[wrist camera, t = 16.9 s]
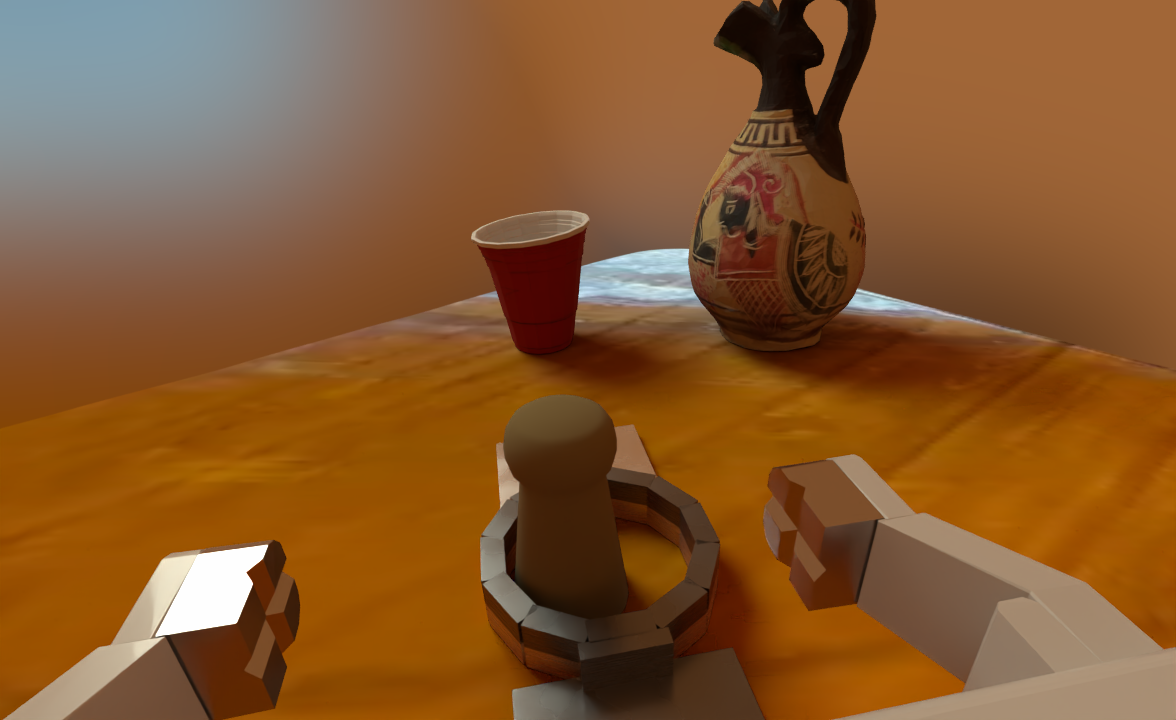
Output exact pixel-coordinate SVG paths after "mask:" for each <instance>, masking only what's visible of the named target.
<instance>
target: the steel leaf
mask: <svg viewBox="0 0 1176 720" xmlns="http://www.w3.org/2000/svg"><path fill="white" fill-rule="evenodd" d="M614 428H615V432H616V437H617V452H616V455H615V459H614V462H613V465H612V467H615V468H620V469H626V470H632V471H637V472H643V473H648V474H654V475H656V474H655V472H654V470H653V467H652V465H651V463H650V461H649V458H648V456H647V454H646V452H645V449H644V447H643V445H642V443H641V440H640V438H639V436H638V434H637V431H636V429H635V427H634V425H627V426H620V427H614ZM503 444H504V443H499V444H496V447H497V463H498V478H499V494H500V508H501V507H502V506H503V504H504V503H505V502H506V500H507V499H509V500H510V497H511V496H513V495H514V494H516V493H518V492H519V482H518V481H517V480H516V479H515V478H514V477H513V475H512V473H511V471H510V469H509V467H508V464H507V462H506V460H505V457H504V450H503ZM656 477H657V476H656ZM611 502H612V507H613V512H614V517H616V518H620V519H625V520H630V521H635V522H640V523H644V524H648V525H649V526H650V527H652V528H653V529H655V530H656V531H657V532H659V533H660V534H662V535H663V536H664V537H666V538H667V539H669V540H670V541H671V542H673V543H674V544H676V545H677V546H678V547H679V548H680V550H681V552H682V555H683V557H684V559H685V562H686V564H687V566H689V563H690V559H691V556H692V555H691V553H690V550H689V548H688V546H687V544H686V541H685V539H684V537H683V535H682V532H681V530H680V528H679V527H677V526H676V525H674V524H673V523H671V522H670V521H668V520H667V519H666V518H664V517H663V516H661V515H660V514H658V513H657V512H655V511H654V510H652V509H651V508H650V507H648V506H646V505H641V504H636V503H631V502H626V501H621V500H616V499H611ZM516 544H517V541H516V543H515V544H514V546H513V547H512V549H511V551H510V552H509V554H508V555H507V570H508V576H509V577H510V574H511V573H512V571H513V569H514V568H515V566H516ZM718 569H719V566H718ZM717 585H718V570H717V574H716V579H715V583H714V588H713V592H712V596H711V601H710V605H709V609H708V610H707V612H706V614H705V615H704V616H702V617H701V618H700V619H699V620H698V621H697V622H695V623H694V624H693V625H692V626H691V627H689V628H688V629H687V630H686V631H685V632H684V633H682V634H681V635H680V636H679V637H678V638H676V639H675V640H674V641H673V642H674V656H673V659H675V658H678V657H679V656H680V655H681V654H683V653H684V652H685V651H686V650H687V649H688V648H689V647H691V646H692V645H693V644H694V643H695V642H696V641H697V640H699V639H700V638H701V637H702V636H703V635H704V634H705V631H706V630H707V629H708V625H709V620H710V616H711V611H712V607H713V602H714V598H715V593H716V589H717ZM485 604H486V602H485ZM486 610H487V615H488V621H489V623H490V626H491V627H492V628H493V629H494V630H495V632H496V633H497V634H498V635H499V636H500V637H501V639H502V640H503V641H504V642H505V643H506V645H507V646H508V647H509V648H510V649H511V651H512V652H513V653H514V654H515V655H516V656H517V658H518V659H519V660H520V661H521V662H522V664H523V665H525V664H526V663H527V667H528V668H531V669H534V670H538V671H541V672H544V673H547V674H550V675H554V676H557V677H560V678H563V679H571V678H577V677H580V668H579V663H577V662H573V661H570V660H567V659H563V658H560V657H557V656H553V655H550V654H547V653H543V652H540V651H536V650H533V649H530V648H526V647H524V643H522V644H520V643H519V642H518V641H517V640H516V639H515V638H514V636H513V635H512V634H511V633H510V632H509V631H508V629H507V628H506V627H505V626H504V625H503V624H502V623H501V621H500V620H499V619H498V618H497V617H496V616H495V614H494V613H493V612H492V611H491V610H490V609H489V608H488V606H487V605H486Z"/></svg>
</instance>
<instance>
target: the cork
mask: <svg viewBox="0 0 1176 720" xmlns="http://www.w3.org/2000/svg"><path fill="white" fill-rule="evenodd" d="M503 450H504V457H505V460H506V462H507V464H508V467H509V469H510V471H511V473H512V475H513V477H514V478H515V479H516V480H517V481H518V482H519V500H518V522H517V544H516V566H515V584H516V585H517V586H518V587H519V588H520V589H521V590H522V591H523V592H524V593H525V594H526V595H527V596H528V597H529V598H530V599H531V600H532V601H533V602H534V603H535V604H536V605H537V606H540V607H544V608H548V609H552V610H555V611H559V612H563V613H566V614H570V615H574V616H577V617H581V618H585V619H588V620H591V619H596V618H602V617H607V616H613V615H618V614H621V613H622V611H623V610H624V608H625V606H626V602H627V598H628V594H629V592H628V586H627V580H626V574H625V569H624V564H623V559H622V554H621V548H620V543H619V538H618V533H617V528H616V522H615V517H614V512H613V507H612V502H611V496H610V491H609V486H608V481H607V476H606V475H607V474H608V473H609V472H610V470H611V468H612V465H613V462H614V459H615V455H616V452H617V437H616V432H615V428H614V425H613V421H612V419H611V418H610V417H609V415H608V414H607V413H606V411H605V410H604V409H603V408H602V407H601V406H600V405H599V404H597V403H595V402H594V401H592V400H589V399H586V398H582V397H579V396H573V395H552V396H547V397H543V398H539V399H536V400H534V401H532V402H529V403H527V404H525V405H523V406H522V407H521V408H519V409H518V410H517V411H516V412H515V413H514V415H513V416H512V418H511V419H510V421H509V423H508V424H507V426H506V429H505V435H504V444H503Z"/></svg>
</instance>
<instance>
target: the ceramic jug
mask: <svg viewBox="0 0 1176 720" xmlns="http://www.w3.org/2000/svg"><path fill="white" fill-rule="evenodd" d="M812 1H814V0H782V1H781V3H780V7H779V12H778V10H777V8H776V6H775V4H774V3H773V0H763V2H762V4H761V6H760V7H758V6H756V5H754V4H752V3H751V2H750V1H742V2H741V3H740V4H739V5H738V6H737V7H736V8H735V9H734V10H733V11H732V12H731V13H730V15H729V16H728V17H727V19H726V20H725V22H724V24H723V26H722V28H721V29H720V31H719V32H718V34H717V36H716V37H715V38H714V46H716V47H718V48H720V49H723V50H725V51H727V52H729V53H732V54H734V55H737V56H739V57H741V58H743V59H745V60H747V61H749V62H751V63H753V64H754V65H755V66H756V67H757V68H758V69H759V70H760V72H761V75H762V84H763V85H762V89H761V94H760V98H759V102H758V107H757V109H755V110H754V111H753V112H752V116H751V118H750V119H749V121H748V123H747V124H746V126H745V127H744V129H743V130H742V132H741V133H740V134H739V135H738V137H737V138H736V139H735V141H734V142H733V144H732V145H731V147H730V148H729V150H728V152H727V154H726V156H725V158H724V159H723V161H722V163H721V164H720V166H719V168H718V169H717V171H716V173H715V174H714V176H713V177H712V179H711V181H710V183H709V185H708V187H707V189H706V191H705V193H704V196H703V198H702V200H701V203H700V206H699V209H698V211H697V214H696V218H695V223H694V227H693V230H692V236H691V240H690V246H689V259H688V265H689V271H690V277H691V282H692V286H693V289H694V292H695V294H696V295H697V297H698V298H699V300H700V301H701V303H702V304H703V305H704V306H705V308H706V309H707V310H708V311H709V312H710V314H711V315H712V316H713V317H714V318H715V320H716V321H717V323H718V325H719V326H720V332H721V334H722V336H723V337H724V338H725V339H726V340H728V341H729V342H731V343H734V344H737V345H739V346H741V347H743V348H748V349H753V350H759V351H788V350H793V349H798V348H803V347H808V346H813V345H815V344H816V343H817V342H819V341H820V336H821V332H822V327H823V326H824V325H825V324H826V323H828V322H829V321H830V320H831V319H832V318H834V317H835V316H836V315H837V314H838V313H839V312H841V311H842V310H843V309H844V308H845V307H846V306H847V305H848V303H849V302H850V301H851V299H852V298H853V296H854V294H855V292H856V290H857V288H858V285H859V283H860V280H861V277H862V275H863V271H864V266H865V245H866V234H865V230H864V226H865V223H864V218H863V216H862V213H861V208H860V205H859V201H858V198H857V195H856V193H855V191H854V188H853V186H852V183H851V181H850V178H849V176H848V174H847V171H846V167H845V160H844V150H843V143H842V135H841V133H840V130H839V121H840V118H841V115H842V112H843V109H844V106H845V104H846V101H847V99H848V97H849V94H850V92H851V89H852V87H853V84H854V82H855V80H856V78H857V76H858V74H859V71H860V69H861V67H862V64H863V62H864V59H865V57H866V54H867V52H868V49H869V45H870V41H871V35H872V32H873V28H874V24H875V20H876V10H875V0H838V1H840V2H841V3H842V4H844V5H845V6H846V7H847V11H848V32H847V36H846V39H845V42H844V45H843V47H842V51H841V53H840V56H839V59H838V62H837V65H836V69H835V71H834V74H833V77H832V80H831V83H830V86H829V88H828V90H827V92H826V94H825V97H824V99H823V102H822V104H821V106H820V109H819V111H818V114H817V115H815V114H814V112H813V107H812V104H811V102H810V99H809V96H808V94H807V90H806V86H805V70H807V69H809V68H812V67H816V66H819V65H821V63H822V61H823V58H824V49H823V45H822V43H821V42H820V41H819V39H818V38H817V36H816V34H815V33H814V32H813V31H812V30H811V29H810V28H809V27H808V25H807V23H806V22H805V20H804V19H803V13H804V11H805V8H806V6H807V5H808V4H809V3H811V2H812Z"/></svg>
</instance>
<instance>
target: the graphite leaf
mask: <svg viewBox="0 0 1176 720" xmlns="http://www.w3.org/2000/svg"><path fill="white" fill-rule="evenodd" d="M606 476H607V481H608V486H609V491H610V496H611V499H616V500H621V501H626V502H631V503H636V504H641V505H646V506H648V507H650V508H651V509H652V510H654V511H655V512H657V513H658V514H660V515H661V516H663V517H664V518H666V519H667V520H668V521H670V522H671V523H673V524H674V525H676V526H677V527H679V528H680V530H681V532H682V535H683V537H684V539H685V541H686V544H687V546H688V548H689V550H690V553H691V555H692V556H691V559H690V563H689V566H688V570H687V573H686V577H685V580H683V581H682V582H681V583H679V584H678V585H677V586H676V587H674V588H673V589H672V590H670V591H669V592H668V593H667V594H665V595H664V596H663V597H661V598H660V599H659V600H657V601H656V602H655V603H654V604H652V605H651V606H650V607H648V608H647V609H646V610H640V611H635V612H629V613H624V614H618V615H613V616H607V617H602V618H596V619H591V620H588V619H585V618H581V617H577V616H574V615H570V614H566V613H563V612H559V611H555V610H552V609H548V608H544V607H540V606H537V605H536V604H535V603H534V602H533V601H532V600H531V599H530V598H529V597H528V596H527V595H526V594H525V593H524V592H523V591H522V590H521V589H520V588H519V587H518V586H517V585H516V584H515V582H514V581H513V580H512V579H511V578H510V577H509V576H508V570H507V555H508V554H509V552H510V551H511V549H512V547H513V546H514V544H515V543H516V541H517V522H518V500H519V492H518V493H516V494H514V495H513V496H511V497H510V500H509V499H507V500H506V502H505V503H504V504H503V506H502V507H501V508H500V510H499V511H498V513H497V514H496V515H495V517H494V518H493V520H492V521H491V522H490V524H489V525H488V526H487V528H486V529H485V531H484V532H483V533H482V538H480V540H481V583H482V588H483V593H484V599H485V602H486V605H487V606H488V608H489V609H490V610H491V611H492V612H493V613H494V614H495V616H496V617H497V618H498V619H499V620H500V621H501V623H502V624H503V625H504V626H505V627H506V628H507V629H508V631H509V632H510V633H511V634H512V635H513V636H514V638H515V639H516V640H517V641H518V642H519V643H520V644H522V643H524V647H526V648H530V649H533V650H536V651H540V652H543V653H547V654H550V655H553V656H557V657H560V658H563V659H567V660H570V661H573V662H577V663H579V668H580V677H577V678H571V679H566V680H561V681H556V682H551V683H546V684H540V685H535V686H530V687H525V688H520V689H515V690H512V696H513V712H514V720H765V719H764V717H763V715H762V713H761V710H760V708H759V706H758V704H757V701H756V699H755V697H754V695H753V692H752V690H751V688H750V686H749V683H748V681H747V679H746V677H745V674H744V672H743V670H742V668H741V665H740V663H739V661H738V659H737V656H736V654H735V652H734V650H733V647H732V648H727V649H721V650H716V651H711V652H706V653H701V654H695V655H690V656H685V657H680V658H675V659H673V656H674V642H673V641H674V640H675V639H676V638H678V637H679V636H680V635H681V634H682V633H684V632H685V631H686V630H687V629H688V628H689V627H691V626H692V625H693V624H694V623H695V622H697V621H698V620H699V619H700V618H701V617H702V616H704V615H705V614H706V612H707V610H708V609H709V605H710V601H711V596H712V592H713V588H714V583H715V579H716V574H717V570H718V566H719V553H720V544H719V543H720V541H719V539H718V537H717V535H716V533H715V531H714V529H713V527H712V525H711V523H710V521H709V519H708V517H707V515H706V514H705V512H704V510H703V508H702V506H701V504H700V503H698V500H696V499H695V498H693V497H691V496H690V495H688V494H687V493H685V492H683V491H682V490H680V489H679V488H677V487H675V486H674V485H672V484H671V483H669V482H668V481H666V480H664V479H663V478H661V477H660V476H658V477H656V475H654V474H648V473H643V472H637V471H632V470H626V469H620V468H615V467H612V468H611V470H610V472H609V473H608V474H607V475H606Z"/></svg>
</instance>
